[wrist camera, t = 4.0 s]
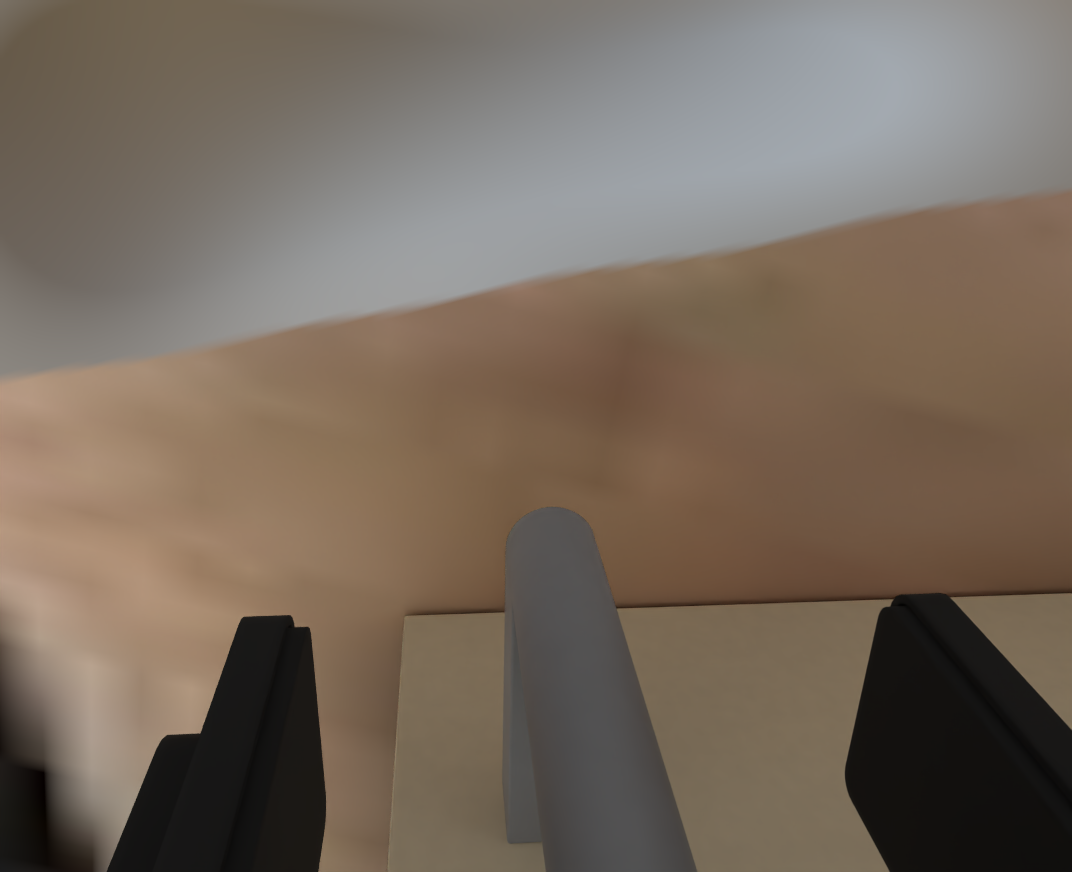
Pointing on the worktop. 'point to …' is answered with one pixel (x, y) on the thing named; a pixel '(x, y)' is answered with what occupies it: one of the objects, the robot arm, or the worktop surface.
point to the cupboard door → (650, 722)
